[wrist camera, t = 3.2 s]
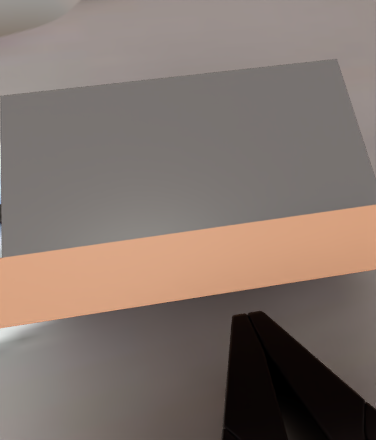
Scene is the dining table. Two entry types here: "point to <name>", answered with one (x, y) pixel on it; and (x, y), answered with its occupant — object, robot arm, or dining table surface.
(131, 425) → the dining table surface
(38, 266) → the lid
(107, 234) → the cable box
